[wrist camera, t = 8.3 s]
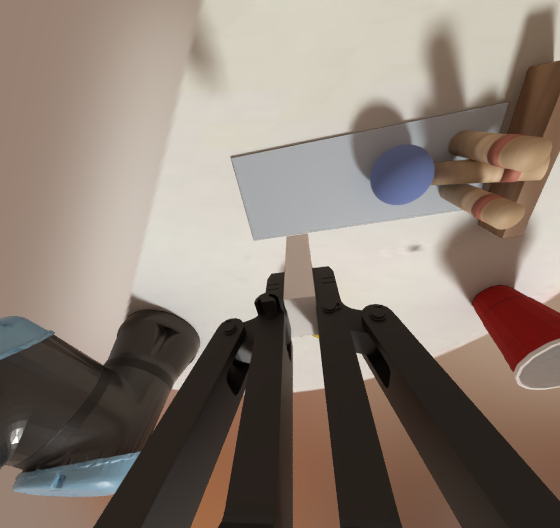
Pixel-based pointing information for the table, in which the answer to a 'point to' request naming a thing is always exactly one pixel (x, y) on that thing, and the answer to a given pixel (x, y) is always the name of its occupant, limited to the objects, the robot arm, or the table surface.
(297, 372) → the table surface
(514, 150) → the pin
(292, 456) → the robot arm
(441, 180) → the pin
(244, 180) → the plate
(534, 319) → the plastic cup
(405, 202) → the ball
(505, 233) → the backstop
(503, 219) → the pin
